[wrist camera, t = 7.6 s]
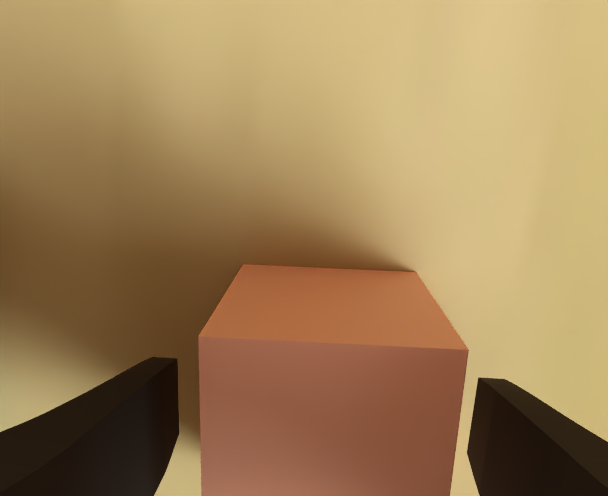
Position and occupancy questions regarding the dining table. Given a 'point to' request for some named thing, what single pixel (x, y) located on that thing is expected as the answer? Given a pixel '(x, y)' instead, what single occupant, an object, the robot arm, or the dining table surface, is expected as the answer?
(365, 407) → the terracotta brick
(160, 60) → the dining table surface
